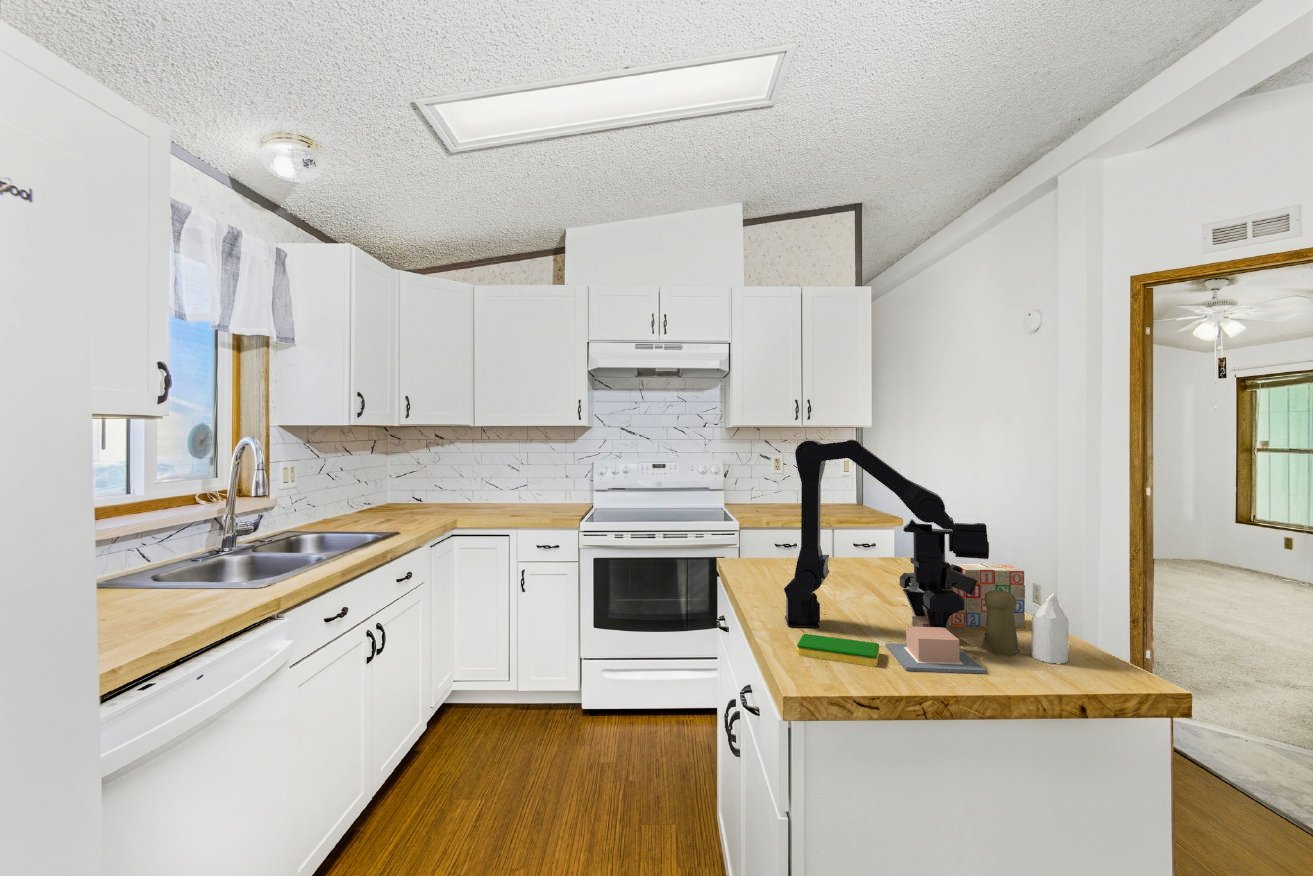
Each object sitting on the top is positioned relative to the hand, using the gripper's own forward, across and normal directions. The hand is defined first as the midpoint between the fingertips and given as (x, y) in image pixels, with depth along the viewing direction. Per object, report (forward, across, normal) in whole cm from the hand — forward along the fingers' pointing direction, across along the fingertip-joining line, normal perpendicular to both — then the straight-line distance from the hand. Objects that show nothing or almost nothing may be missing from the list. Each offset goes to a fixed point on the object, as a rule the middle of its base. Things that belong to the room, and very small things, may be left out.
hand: (930, 633), depth 114 cm
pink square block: (0, -11, +4) cm, 12 cm away
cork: (+1, -5, -11) cm, 12 cm away
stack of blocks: (+2, +12, -12) cm, 17 cm away
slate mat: (+1, -11, +4) cm, 12 cm away
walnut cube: (+1, 0, 0) cm, 1 cm away
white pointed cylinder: (+1, -9, -18) cm, 20 cm away
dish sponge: (+2, -10, +20) cm, 22 cm away
